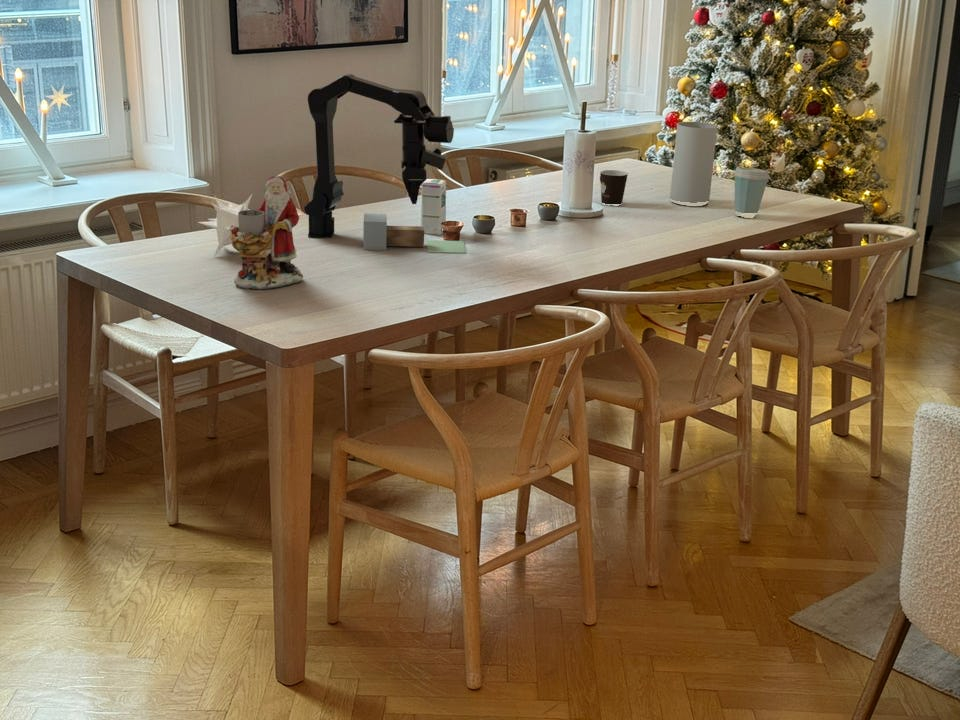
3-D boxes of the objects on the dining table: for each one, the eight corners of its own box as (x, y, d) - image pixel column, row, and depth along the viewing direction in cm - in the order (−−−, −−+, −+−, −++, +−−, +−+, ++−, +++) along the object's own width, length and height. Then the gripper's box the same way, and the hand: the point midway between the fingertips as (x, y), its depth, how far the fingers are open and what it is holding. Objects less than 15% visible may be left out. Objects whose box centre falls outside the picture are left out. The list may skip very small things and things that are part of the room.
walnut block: (363, 245, 312) (363, 228, 311) (363, 241, 316) (364, 225, 314) (423, 246, 313) (424, 230, 312) (423, 242, 317) (424, 226, 316)
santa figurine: (238, 293, 271) (235, 186, 262) (226, 276, 283) (222, 174, 274) (309, 287, 277) (308, 183, 268) (294, 271, 289) (292, 171, 280)
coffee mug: (626, 207, 369) (629, 176, 366) (599, 206, 369) (601, 175, 366) (622, 199, 380) (625, 168, 376) (596, 198, 380) (598, 167, 376)
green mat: (428, 252, 310) (428, 251, 310) (426, 240, 321) (426, 240, 321) (466, 253, 311) (466, 252, 311) (463, 241, 322) (463, 240, 322)
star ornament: (187, 250, 304) (184, 194, 299) (230, 242, 314) (228, 188, 310) (238, 263, 292) (236, 206, 287) (281, 254, 303) (280, 198, 298)
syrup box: (440, 235, 328) (442, 183, 322) (420, 233, 329) (421, 182, 324) (445, 230, 333) (447, 179, 328) (425, 228, 334) (426, 178, 329)
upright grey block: (363, 249, 310) (363, 221, 307) (364, 240, 318) (364, 213, 316) (386, 250, 311) (386, 222, 308) (386, 241, 319) (386, 213, 316)
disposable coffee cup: (732, 210, 371) (737, 163, 366) (766, 215, 368) (772, 167, 362) (726, 217, 362) (731, 169, 356) (761, 222, 358) (767, 173, 353)
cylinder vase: (665, 198, 384) (672, 121, 376) (702, 198, 386) (710, 122, 377) (675, 207, 373) (683, 127, 364) (713, 207, 374) (722, 128, 366)
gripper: (445, 146, 298) (446, 207, 303) (442, 135, 315) (442, 192, 320) (401, 147, 297) (402, 208, 302) (400, 135, 314) (401, 193, 320)
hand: (413, 200), depth 311 cm, fingers open, 9 cm apart
